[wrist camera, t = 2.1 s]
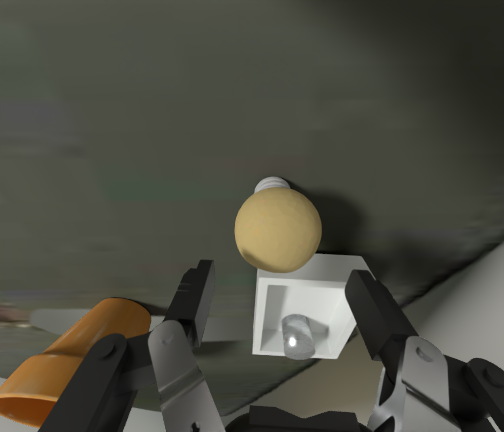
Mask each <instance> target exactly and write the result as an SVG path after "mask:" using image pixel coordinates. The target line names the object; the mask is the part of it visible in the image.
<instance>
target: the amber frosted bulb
mask: <svg viewBox="0 0 504 432" xmlns="http://www.w3.org/2000/svg"><path fill="white" fill-rule="evenodd" d="M321 235H322V226H321V220H320V217H319V214H318V212H317V210H316V208H315V207H314V206H313V204H312V203H311V201H309V200H308V199H307V198H306V197H305V196H304V195H302V194H301V193H299V192H297V191H295V190H292V189H290V186H289V185H288V183H287V182H286V181H285V180H283V179H281V178H279V177H268V178H265V179H263V180H262V181H260V183H259V184H258V185H257V187H256V189H255V193H254V194H253V195H252V196H250V197H249V198H248V199H247V200H246V201H245V202H244V204H243V205H242V207H241V208H240V210H239V212H238V215H237V218H236V222H235V238H236V243H237V246H238V249H239V251H240V253H241V254H242V256H243V258H244V259H245V260H246V261H247V262H248V263H250V264H251V265H253V266H255V267H256V268H259V269H261V270H264V271H268V272H272V273H289V272H293V271H296V270H298V269H300V268H301V267H303V266H304V265H305V264H306V263H307V262H308V261H309V260H310V259H311V258H312V257H313V255H314V254H315V252H316V250H317V248H318V246H319V243H320V240H321Z"/></svg>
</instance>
